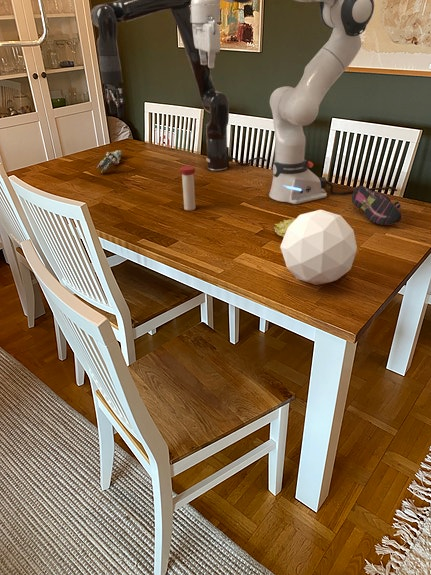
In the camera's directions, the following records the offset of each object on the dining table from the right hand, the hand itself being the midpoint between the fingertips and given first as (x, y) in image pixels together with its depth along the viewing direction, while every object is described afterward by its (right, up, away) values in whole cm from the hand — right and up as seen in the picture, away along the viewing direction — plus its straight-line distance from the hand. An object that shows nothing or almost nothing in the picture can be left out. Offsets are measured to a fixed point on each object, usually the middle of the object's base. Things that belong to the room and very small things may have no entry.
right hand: (207, 66), depth 143 cm
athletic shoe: (+60, -46, +13) cm, 77 cm away
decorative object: (+31, -53, +3) cm, 62 cm away
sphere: (+30, -69, -21) cm, 78 cm away
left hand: (-35, -5, +29) cm, 46 cm away
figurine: (-48, -12, +72) cm, 87 cm away
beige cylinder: (-7, -41, +24) cm, 48 cm away
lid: (-7, -29, +16) cm, 34 cm away
